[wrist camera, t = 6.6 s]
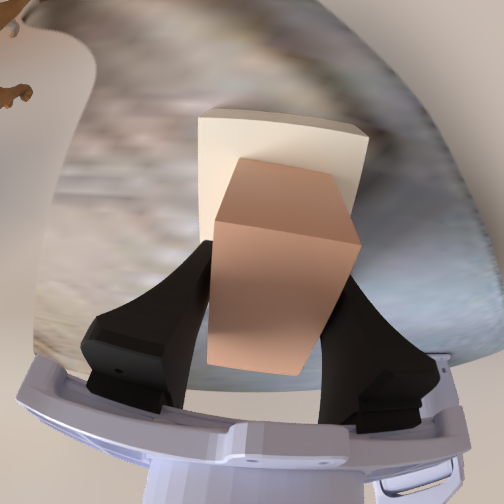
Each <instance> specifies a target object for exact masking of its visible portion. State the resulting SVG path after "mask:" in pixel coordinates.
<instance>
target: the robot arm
mask: <svg viewBox="0 0 504 504" xmlns="http://www.w3.org/2000/svg"><path fill="white" fill-rule="evenodd" d="M212 248H213V241H211V240H204V241H202V243H201V244H200V245H199V246H198V247H197V249H196V250H195V251H194V252H193V253H192V254H191V255H190V256H189V257H188V258H187V259H186V260H185V261H184V262H183V263H182V264H181V265H180V266H179V267H178V268H177V269H176V270H175V271H174V272H172V273H171V274H170V275H169V276H168V277H167V278H165V279H164V280H163V281H162V282H160V283H159V284H158V285H156V286H155V287H153V288H152V289H151V290H149V291H147V292H146V293H144V294H143V295H141V296H140V297H138V298H136V299H134V300H133V301H131V302H129V303H127V304H125V305H123V306H121V307H119V308H116V309H114V310H111V311H109V312H106V313H104V314H101V315H99V316H96V318H95V319H94V321H93V322H92V324H91V325H90V327H89V329H88V330H87V332H86V334H85V336H84V338H83V340H82V342H81V347H80V348H81V351H82V353H83V355H84V357H85V359H86V360H87V362H88V364H89V365H90V367H91V369H92V372H91V374H90V377H89V379H88V381H85V380H83V379H80V378H78V377H75V376H72V375H70V374H68V373H67V371H66V370H65V368H64V367H63V366H62V365H61V364H60V363H58V362H57V361H55V360H52V359H50V358H48V357H46V356H44V355H41V354H39V353H38V354H37V355H36V356H35V358H34V361H33V362H32V364H31V366H30V368H29V370H28V372H27V374H26V376H25V378H24V380H23V382H22V385H21V387H20V389H19V391H18V393H17V396H16V398H15V400H16V401H17V402H18V403H19V404H20V405H21V406H22V407H24V408H25V409H26V410H27V411H29V412H30V413H31V414H32V415H33V416H35V417H36V418H37V419H39V420H40V421H41V422H42V423H44V424H46V425H48V426H50V427H52V428H53V429H55V430H57V431H59V432H61V433H63V434H65V435H67V436H69V437H71V438H73V439H75V440H77V441H79V442H81V443H84V444H86V445H88V446H90V447H92V448H95V449H97V450H99V451H101V452H104V453H106V454H109V455H111V456H114V457H116V458H119V459H121V460H124V461H127V462H130V463H133V464H136V465H138V466H142V467H145V468H148V469H149V473H148V478H147V482H146V487H145V492H144V496H143V502H142V504H364V483H368V482H372V485H373V488H374V490H375V495H376V504H445V503H446V502H447V501H448V500H449V499H450V498H451V497H452V496H453V495H454V494H455V493H456V491H458V490H459V489H460V487H461V486H462V484H463V481H464V469H463V468H464V461H463V453H465V452H467V451H469V450H470V449H471V443H470V439H469V434H468V429H467V425H466V420H465V416H464V411H463V408H462V406H459V398H458V395H457V391H456V388H455V384H454V381H453V377H452V374H451V371H450V368H449V365H448V362H447V361H448V360H449V359H450V358H451V355H450V354H425V353H424V352H422V351H421V350H419V349H418V348H417V347H415V346H414V345H413V344H411V343H410V342H409V341H408V340H407V339H405V338H404V337H403V336H402V335H401V334H400V333H399V332H398V331H396V330H395V329H394V328H393V327H392V326H391V325H390V324H389V323H388V322H387V321H386V320H385V319H384V317H383V316H382V315H381V314H380V313H379V312H378V311H377V310H376V308H375V307H374V306H373V305H372V303H371V302H370V301H369V300H368V298H367V297H366V296H365V295H364V293H363V292H362V290H361V289H360V288H359V286H358V285H357V283H356V282H355V281H354V279H353V278H352V276H351V275H349V277H348V279H347V281H346V283H345V286H344V288H343V290H342V292H341V294H340V296H339V298H338V301H337V303H336V305H335V307H334V309H333V311H332V313H331V315H330V317H329V319H328V321H327V323H326V325H325V327H324V329H323V331H322V333H321V335H320V340H321V348H322V386H321V400H320V411H319V419H318V424H299V423H297V424H296V423H282V422H269V421H248V420H240V419H232V418H225V417H219V416H213V415H207V414H202V413H196V412H192V411H187V410H183V404H184V398H185V392H186V387H187V381H188V376H189V371H190V366H191V361H192V356H193V352H194V347H195V342H196V338H197V335H198V332H199V329H200V326H201V323H202V320H203V317H204V314H205V311H206V308H207V305H208V302H209V300H210V281H211V264H212ZM447 477H450V478H449V479H448V480H447V481H446V482H444V483H442V484H439V485H436V486H433V487H430V488H427V489H424V490H421V491H417V492H414V493H410V494H406V495H399V494H397V493H399V492H403V491H407V490H410V489H414V488H417V487H420V486H424V485H427V484H430V483H433V482H436V481H439V480H442V479H444V478H447Z"/></svg>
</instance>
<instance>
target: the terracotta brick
mask: <svg viewBox="0 0 504 504" xmlns="http://www.w3.org/2000/svg"><path fill="white" fill-rule="evenodd" d="M361 247H362V244H361V242H360V239H359V237H358V234H357V232H356V229H355V227H354V224H353V222H352V219H351V217H350V215H349V212H348V210H347V208H346V205H345V203H344V201H343V199H342V196H341V194H340V192H339V190H338V187H337V185H336V183H335V181H334V179H333V177H332V175H331V174H327V173H323V172H318V171H313V170H308V169H303V168H298V167H293V166H287V165H282V164H276V163H270V162H264V161H258V160H251V159H244V158H239V160H238V162H237V164H236V167H235V169H234V172H233V174H232V177H231V179H230V182H229V184H228V187H227V189H226V192H225V195H224V197H223V200H222V202H221V205H220V208H219V210H218V213H217V215H216V218H215V221H214V234H213V248H212V264H211V281H210V300H209V323H208V352H207V364H211V365H217V366H223V367H229V368H236V369H242V370H250V371H257V372H266V373H274V374H284V375H295V376H298V375H299V373H300V371H301V369H302V368H303V366H304V364H305V362H306V361H307V359H308V357H309V355H310V353H311V351H312V350H313V348H314V346H315V344H316V342H317V340H318V338H319V336H320V335H321V333H322V331H323V329H324V327H325V325H326V323H327V321H328V319H329V317H330V315H331V313H332V311H333V309H334V307H335V305H336V303H337V301H338V298H339V296H340V294H341V292H342V290H343V288H344V286H345V283H346V281H347V279H348V277H349V275H350V272H351V270H352V268H353V266H354V263H355V261H356V259H357V256H358V254H359V252H360V249H361Z"/></svg>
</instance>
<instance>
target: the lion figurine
mask: <svg viewBox="0 0 504 504" xmlns="http://www.w3.org/2000/svg"><path fill="white" fill-rule="evenodd" d="M29 1H30V0H9V1H6V2H2V3H0V31H1V30H2V29H3V28H4V27H7V28H9V29H10V30H9V32H8V36H9V37H10V38H14V37H16V36H17V34H18V32H19V24H18V23H17V22H16V20H15V19H14V18H15V17H16V16H17V15H18V14H19V13H20V12H21V10H22V9H23V8H24V7H25V6H26V5H27V3H28V2H29ZM37 1H38V2H39V3H42V2H43V1H45V0H37ZM32 94H33V91H32V89H31V87H30V86H29V85H26V84H19V85H17V86H15V87H12V88H2V87H0V109H1V108H2V107H3V106H4V107H5V108H6V109H7V108H10V107H11V106H12V105H13V99H15V98H16V97H18V96H20V97H21V100H23V101H25V102H27V101H28V100H29V99H30V98H31V96H32Z"/></svg>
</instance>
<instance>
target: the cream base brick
mask: <svg viewBox="0 0 504 504" xmlns="http://www.w3.org/2000/svg"><path fill="white" fill-rule="evenodd" d="M368 141H369V137H368V136H367V135H366V134H365V133H363V132H362V131H361V130H360V129H359V128H357V127H356V126H355V125H353V124H348V123H343V122H338V121H332V120H327V119H321V118H314V117H308V116H301V115H293V114H285V113H276V112H266V111H254V110H239V109H217V108H212V109H210V110H209V111H207V112H206V113H204V114H203V115H201V116H200V117H198V191H199V225H200V244H201V243H202V241H204V240H211V241H213V234H214V221H215V218H216V215H217V213H218V210H219V208H220V205H221V202H222V200H223V197H224V195H225V192H226V189H227V187H228V184H229V182H230V179H231V177H232V174H233V172H234V169H235V167H236V164H237V162H238V160H239V158H244V159H251V160H258V161H264V162H270V163H276V164H282V165H287V166H293V167H298V168H303V169H308V170H313V171H318V172H323V173H327V174H331V175H332V177H333V179H334V181H335V183H336V185H337V187H338V190H339V192H340V194H341V196H342V199H343V201H344V203H345V205H346V208H347V210H348V212H349V215H350V216H351V212H352V208H353V205H354V201H355V197H356V193H357V189H358V185H359V181H360V177H361V173H362V168H363V164H364V160H365V155H366V151H367V146H368Z"/></svg>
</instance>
